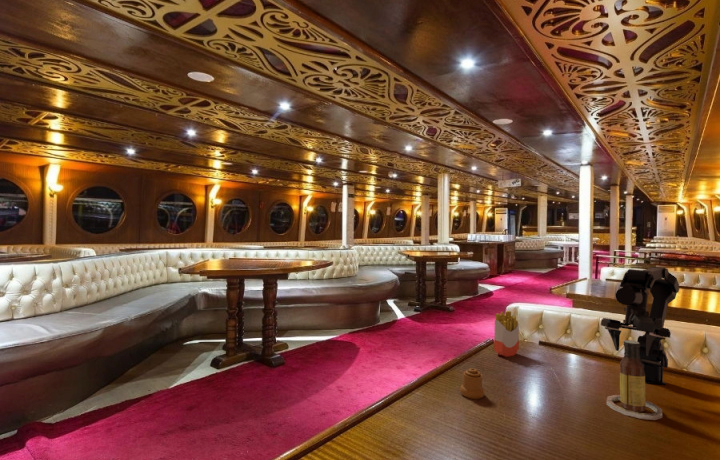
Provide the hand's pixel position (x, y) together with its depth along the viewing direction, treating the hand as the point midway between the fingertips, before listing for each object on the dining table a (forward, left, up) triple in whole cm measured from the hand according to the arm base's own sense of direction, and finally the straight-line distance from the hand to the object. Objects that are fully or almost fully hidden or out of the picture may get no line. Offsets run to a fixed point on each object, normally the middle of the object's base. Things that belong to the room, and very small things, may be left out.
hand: (632, 353), depth 129 cm
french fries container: (+32, -32, -13) cm, 47 cm away
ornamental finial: (+54, +13, -13) cm, 57 cm away
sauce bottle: (+7, +14, -13) cm, 20 cm away
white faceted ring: (+7, +14, -13) cm, 20 cm away
